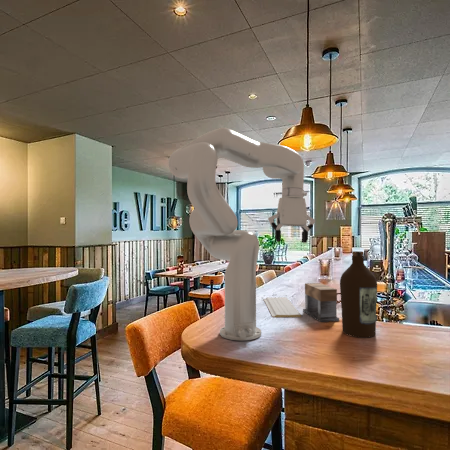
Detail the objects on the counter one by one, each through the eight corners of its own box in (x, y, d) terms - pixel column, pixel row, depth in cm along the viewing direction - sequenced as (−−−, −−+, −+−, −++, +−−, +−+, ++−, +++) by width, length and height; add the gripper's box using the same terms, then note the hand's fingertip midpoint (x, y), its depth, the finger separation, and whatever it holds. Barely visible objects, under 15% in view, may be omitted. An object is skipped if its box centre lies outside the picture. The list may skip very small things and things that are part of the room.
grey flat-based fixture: (339, 321, 113) (339, 300, 113) (320, 322, 111) (320, 301, 112) (319, 310, 127) (319, 292, 127) (303, 311, 126) (302, 293, 126)
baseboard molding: (268, 318, 118) (301, 319, 118) (268, 311, 118) (301, 311, 118) (260, 300, 149) (286, 300, 149) (260, 294, 149) (286, 294, 149)
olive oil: (333, 330, 102) (332, 251, 102) (357, 326, 106) (356, 250, 107) (359, 340, 92) (358, 253, 93) (385, 335, 97) (384, 252, 97)
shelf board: (305, 293, 126) (304, 283, 126) (319, 293, 127) (319, 283, 127) (320, 301, 112) (320, 289, 112) (336, 300, 113) (336, 289, 113)
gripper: (311, 197, 121) (310, 242, 120) (266, 194, 119) (265, 241, 118) (319, 194, 114) (318, 243, 113) (272, 191, 111) (270, 241, 111)
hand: (291, 242), depth 115 cm, fingers open, 9 cm apart
